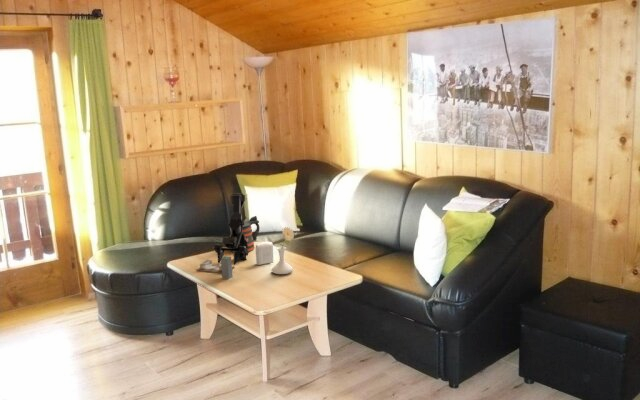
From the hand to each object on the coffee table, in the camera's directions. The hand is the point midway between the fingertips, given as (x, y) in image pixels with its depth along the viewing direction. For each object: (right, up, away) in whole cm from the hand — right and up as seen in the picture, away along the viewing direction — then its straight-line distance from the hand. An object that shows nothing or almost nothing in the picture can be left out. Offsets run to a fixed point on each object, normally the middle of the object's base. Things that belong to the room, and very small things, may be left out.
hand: (226, 264), depth 313 cm
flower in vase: (+30, -6, +8) cm, 31 cm away
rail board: (-8, -5, +16) cm, 19 cm away
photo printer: (+18, -2, +25) cm, 31 cm away
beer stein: (+3, +3, +54) cm, 54 cm away
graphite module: (0, -7, +2) cm, 8 cm away
